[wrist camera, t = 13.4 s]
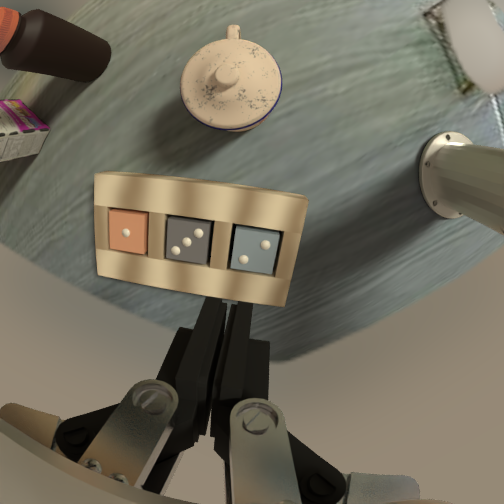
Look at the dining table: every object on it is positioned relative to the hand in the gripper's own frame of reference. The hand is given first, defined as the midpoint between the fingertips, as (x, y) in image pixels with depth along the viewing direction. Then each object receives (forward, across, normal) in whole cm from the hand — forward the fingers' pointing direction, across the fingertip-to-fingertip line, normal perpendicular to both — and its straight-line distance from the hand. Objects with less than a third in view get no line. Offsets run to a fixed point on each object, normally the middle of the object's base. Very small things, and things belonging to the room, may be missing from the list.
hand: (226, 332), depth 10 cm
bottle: (+25, +25, -18) cm, 39 cm away
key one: (+25, +16, +6) cm, 30 cm away
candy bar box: (+24, +37, -9) cm, 45 cm away
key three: (+25, +8, +6) cm, 27 cm away
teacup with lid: (+26, +4, -13) cm, 29 cm away
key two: (+25, 0, +6) cm, 26 cm away
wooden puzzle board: (+25, +8, +6) cm, 27 cm away
